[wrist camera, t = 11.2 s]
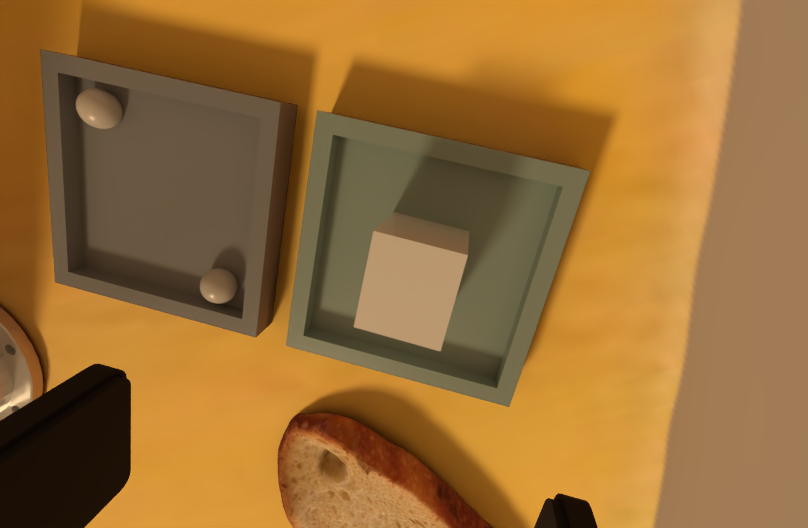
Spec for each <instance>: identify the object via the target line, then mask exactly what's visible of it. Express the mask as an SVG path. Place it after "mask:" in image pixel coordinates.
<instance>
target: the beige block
mask: <svg viewBox="0 0 808 528" xmlns="http://www.w3.org/2000/svg"><path fill="white" fill-rule="evenodd" d="M468 246H469V231H467V230H463V229H459V228H455V227H451V226H447V225H443V224H440V223H436V222H432V221H428V220H424V219H420V218H416V217H412V216H408V215H404V214H400V213H397V212H393V213H392V214H390V215H389V216H388V217H387V218H386V219H385V220H384V221H383V222H382V223H381V224H380V225H379V226H378V227H377V228H376V229H375V230H374V231H373V235H372V240H371V245H370V250H369V255H368V260H367V264H366V269H365V274H364V279H363V284H362V289H361V294H360V298H359V303H358V308H357V313H356V318H355V323H354V327H355V328H359V329H362V330H366V331H369V332H373V333H376V334H380V335H384V336H387V337H391V338H394V339H398V340H401V341H405V342H408V343H412V344H416V345H419V346H423V347H426V348H430V349H433V350H437V351H441V348H442V344H443V341H444V337H445V334H446V330H447V327H448V323H449V320H450V316H451V313H452V310H453V306H454V303H455V299H456V296H457V292H458V289H459V285H460V282H461V278H462V275H463V271H464V268H465V264H466V261H467V257H468Z"/></svg>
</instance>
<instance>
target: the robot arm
mask: <svg viewBox="0 0 808 528" xmlns="http://www.w3.org/2000/svg"><path fill="white" fill-rule="evenodd" d="M42 391H43V376H42V370H41V366H40V362H39V359H38V356H37V354H36V352H35V350H34V347H33V345H32V344H31V342H30V340H29V339H28V337H27V336H26V334H25V332H24V331H23V330H22V329H21V327H20V326H19V325H18V324H17V323H16V321H15V320H14V319H13V318H12V317H11V316H10V315H9V314H8V313H7V312H6V311H4V310H3V309H2V308H1V307H0V528H84V527H85V526H86V525H87V524H88V523H89V522H90V521H91V520H92V519H93V518H94V517H95V516H96V515H97V514H98V513H99V512H100V511H101V510H102V509H103V508H104V507H105V506H106V505H107V504H108V503H109V502H110V501H111V500H112V499H113V498H114V497H115V496H116V495H117V494H118V493H119V492H120V491H121V489H122V488H123V487H124V486H125V484H126V483H127V481H128V479H129V476H130V470H131V384H130V381H129V380H128V379H127V378H126V374H125V372H124V371H122V370H119V369H116V368H112V367H109V366H105V365H101V364H94V365H92V366H89V367H88V368H86V369H84V370H83V371H81V372H79V373H78V374H76V375H74V376H73V377H71V378H70V379H68V380H66V381H65V382H63V383H61V384H60V385H58V386H56V387H55V388H53V389H51V390H50V391H48V392H46V393H45V394H43V395H42ZM534 528H597V524H596V521H595V518H594V515H593V512H592V509H591V507H590V505H589V503H588V502H587V501H585V500H581V499H578V498H574V497H570V496H567V495H563V494H557V495H556V496H555V498H554V500H553V499H550V498H548V499H546V501H545V503H544V505H543V508H542V510H541V512H540V515H539V517H538V520H537V522H536V525H535V527H534Z"/></svg>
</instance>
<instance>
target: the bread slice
mask: <svg viewBox="0 0 808 528" xmlns="http://www.w3.org/2000/svg"><path fill="white" fill-rule="evenodd" d="M278 482H279V487H280V492H281V497H282V503H283V507H284V510H285V513H286V516H287V518H288V520H289V522H290V524H291V525H292V526H293V528H492V527H491V526H490V525H489V524H488V523H487V522H485V521H484V520H483V519H481V518H480V517H479V515H478V514H477V513H476V512H475V511H474V510H473V509H472V508H471V507H470V506H468V505H467V504H466V503H465V502H464V501H463V500H462V499H461V497H460V496H459V495H458V494H457V493H456V492H455V491H454V490H452V489H451V488H450V487H449V486H448V485H447V484H446V483H445V482H444V481H443V480H442V479H441V478H439V477H438V476H437V475H436V474H435V473H434V472H433V471H431V470H430V469H429V468H427V467H426V466H425V465H424V464H423V463H422V462H421V461H419V460H418V459H417V458H416V457H415V456H414V455H412V454H411V453H409V452H408V451H406V450H405V449H403V448H401V447H399V446H396V445H394V444H393V443H391V442H390V441H388V440H387V439H385V438H383V437H382V436H380V435H378V434H377V433H375V432H374V431H373V430H371V429H370V428H368V427H366V426H365V425H363V424H361V423H359V422H357V421H355V420H353V419H351V418H348V417H345V416H341V415H337V414H332V413H325V412H318V413H312V414H305V413H301V414H298V415H296V416H295V417H294V418H293V419H292V420H291V421H290V423H289V425H288V427H287V429H286V431H285V433H284V435H283V437H282V440H281V443H280V446H279V449H278Z"/></svg>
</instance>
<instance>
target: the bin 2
mask: <svg viewBox="0 0 808 528" xmlns="http://www.w3.org/2000/svg"><path fill="white" fill-rule="evenodd" d="M589 174H590V171H588V170H585V169H582V168H579V167H574V166H569V165H565V164H560V163H556V162H551V161H547V160H542V159H538V158H533V157H529V156H524V155H520V154H515V153H511V152H506V151H502V150H497V149H493V148H488V147H484V146H479V145H475V144H470V143H466V142H461V141H457V140H452V139H448V138H443V137H439V136H434V135H430V134H425V133H420V132H416V131H411V130H407V129H402V128H398V127H393V126H389V125H384V124H380V123H375V122H371V121H366V120H362V119H357V118H353V117H348V116H344V115H339V114H335V113H330V112H323V111H317V116H316V123H315V131H314V138H313V146H312V153H311V161H310V168H309V176H308V184H307V191H306V199H305V206H304V214H303V221H302V229H301V236H300V244H299V251H298V259H297V267H296V274H295V282H294V289H293V297H292V304H291V312H290V319H289V327H288V334H287V342H286V346H289V347H292V348H296V349H300V350H303V351H307V352H311V353H314V354H318V355H321V356H325V357H329V358H332V359H336V360H340V361H343V362H347V363H351V364H354V365H358V366H362V367H365V368H369V369H372V370H376V371H380V372H383V373H387V374H391V375H394V376H398V377H402V378H405V379H409V380H412V381H416V382H420V383H423V384H427V385H431V386H434V387H438V388H442V389H445V390H449V391H453V392H456V393H460V394H463V395H467V396H471V397H474V398H478V399H482V400H485V401H489V402H493V403H496V404H500V405H504V406H507V407H509V406H510V403H511V400H512V397H513V394H514V391H515V389H516V386H517V383H518V380H519V377H520V374H521V371H522V368H523V365H524V362H525V360H526V357H527V354H528V351H529V348H530V345H531V342H532V339H533V336H534V333H535V331H536V328H537V325H538V322H539V319H540V316H541V313H542V310H543V307H544V304H545V301H546V299H547V296H548V293H549V290H550V287H551V284H552V281H553V278H554V275H555V272H556V270H557V267H558V264H559V261H560V258H561V255H562V252H563V249H564V246H565V243H566V240H567V238H568V235H569V232H570V229H571V226H572V223H573V220H574V217H575V214H576V211H577V209H578V206H579V203H580V200H581V197H582V194H583V191H584V188H585V185H586V182H587V180H588V177H589ZM393 212H397V213H400V214H404V215H408V216H412V217H416V218H420V219H424V220H428V221H432V222H436V223H440V224H443V225H447V226H451V227H455V228H459V229H463V230H467V231H469V246H468V257H467V261H466V264H465V268H464V271H463V275H462V278H461V282H460V285H459V289H458V292H457V296H456V299H455V303H454V306H453V310H452V313H451V316H450V320H449V323H448V327H447V330H446V334H445V337H444V341H443V344H442V348H441V351H437V350H433V349H430V348H426V347H423V346H419V345H416V344H412V343H408V342H405V341H401V340H398V339H394V338H391V337H387V336H384V335H380V334H376V333H373V332H369V331H366V330H362V329H359V328H355V327H354V323H355V318H356V313H357V308H358V303H359V298H360V294H361V289H362V284H363V279H364V274H365V269H366V264H367V260H368V255H369V250H370V245H371V240H372V235H373V231H374V230H375V229H376V228H377V227H378V226H379V225H380V224H381V223H382V222H383V221H384V220H385V219H386V218H387V217H388V216H389V215H390V214H392V213H393Z"/></svg>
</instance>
